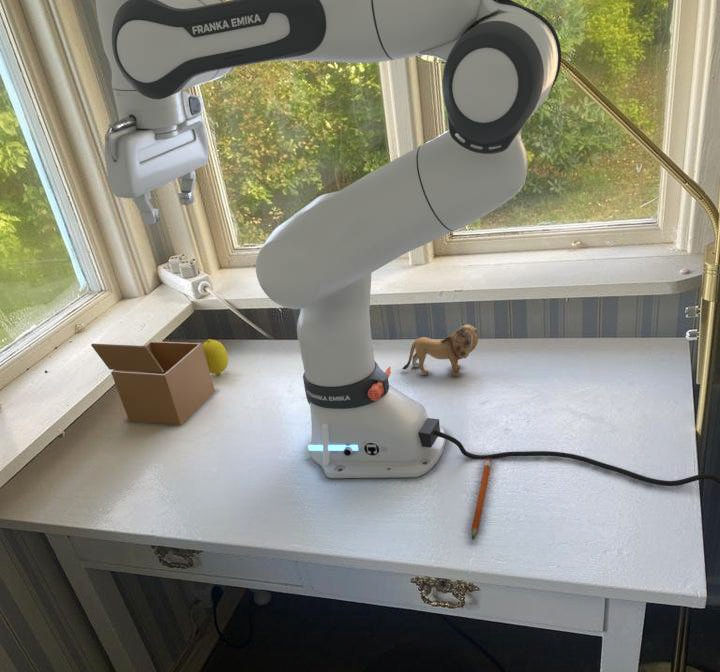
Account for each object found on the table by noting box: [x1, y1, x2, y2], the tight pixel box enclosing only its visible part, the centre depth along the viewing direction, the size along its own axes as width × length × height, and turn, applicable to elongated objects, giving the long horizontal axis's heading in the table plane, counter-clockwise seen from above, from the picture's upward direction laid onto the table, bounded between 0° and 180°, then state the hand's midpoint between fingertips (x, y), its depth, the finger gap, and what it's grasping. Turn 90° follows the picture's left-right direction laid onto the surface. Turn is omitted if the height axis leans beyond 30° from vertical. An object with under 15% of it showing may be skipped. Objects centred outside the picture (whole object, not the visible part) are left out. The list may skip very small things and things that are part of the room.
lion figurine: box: [401, 324, 479, 377], centre depth 136 cm, size 15×5×9 cm, turn 79°
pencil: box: [471, 458, 492, 539], centre depth 105 cm, size 1×19×1 cm, turn 165°
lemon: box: [202, 338, 229, 376], centre depth 148 cm, size 6×6×8 cm
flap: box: [90, 343, 164, 373], centre depth 128 cm, size 12×6×1 cm
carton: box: [110, 340, 216, 426], centre depth 138 cm, size 12×13×10 cm
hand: (170, 213), depth 107 cm, fingers open, 8 cm apart
